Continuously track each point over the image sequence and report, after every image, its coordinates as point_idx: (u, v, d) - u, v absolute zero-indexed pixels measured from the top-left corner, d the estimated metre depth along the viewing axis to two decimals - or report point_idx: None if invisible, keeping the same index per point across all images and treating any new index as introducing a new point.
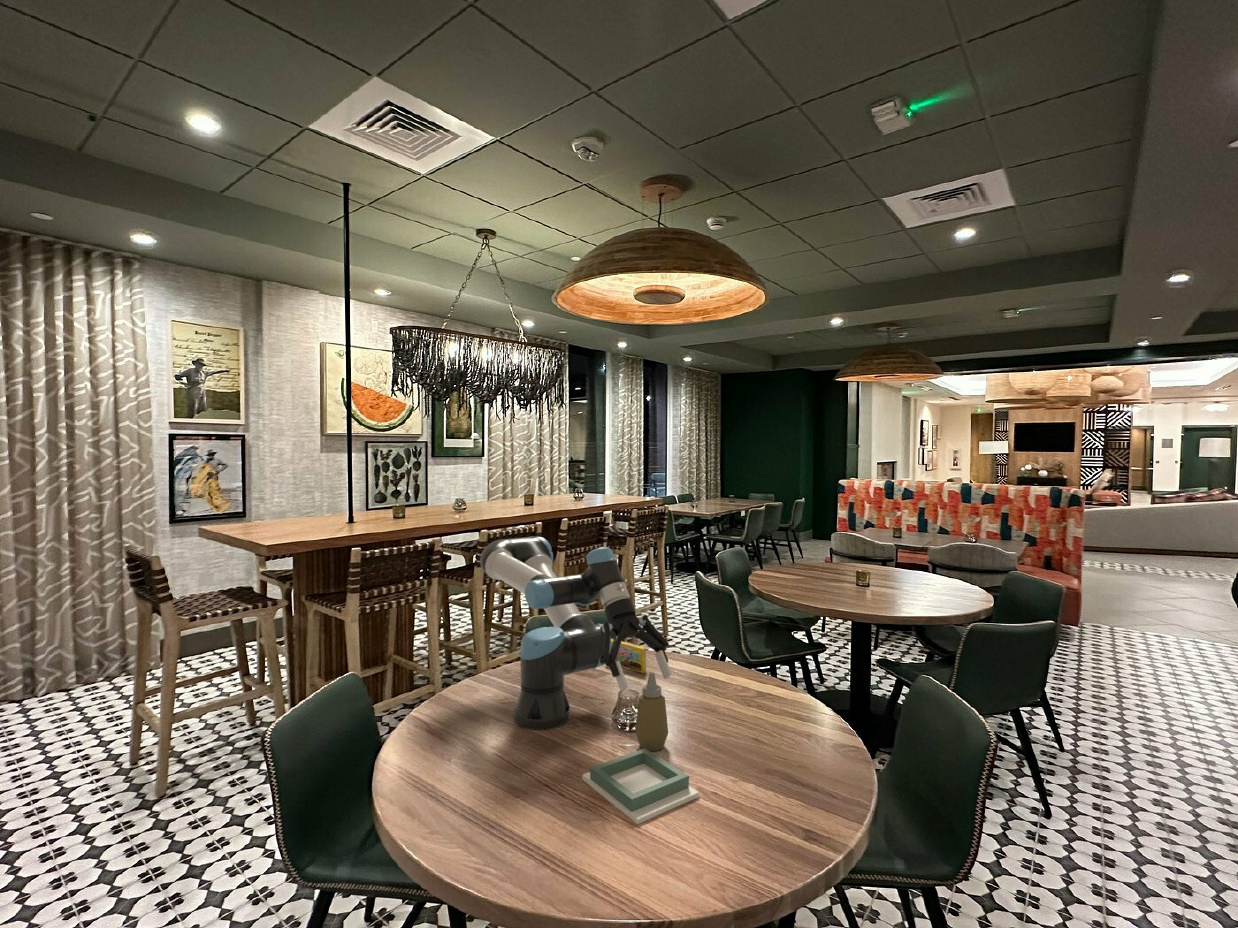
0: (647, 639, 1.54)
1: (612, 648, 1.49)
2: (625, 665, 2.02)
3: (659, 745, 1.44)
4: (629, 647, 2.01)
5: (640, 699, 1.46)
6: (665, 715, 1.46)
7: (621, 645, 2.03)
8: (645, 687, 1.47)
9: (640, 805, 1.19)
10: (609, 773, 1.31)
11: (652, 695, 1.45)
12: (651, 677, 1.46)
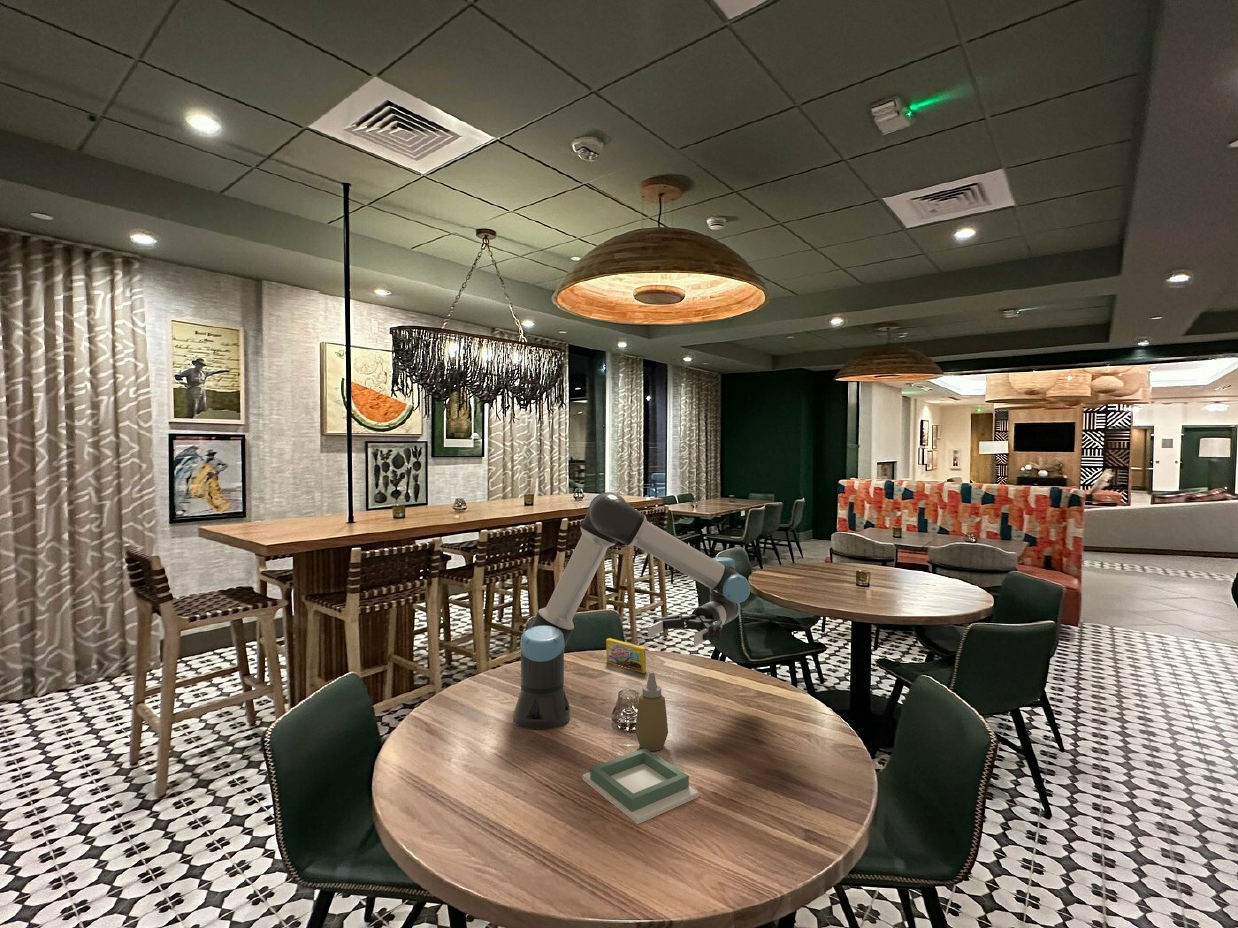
0: (676, 626, 1.66)
1: None
2: (625, 665, 2.02)
3: (659, 745, 1.44)
4: (629, 647, 2.01)
5: (640, 699, 1.46)
6: (665, 715, 1.46)
7: (621, 645, 2.03)
8: (645, 687, 1.47)
9: (640, 805, 1.19)
10: (609, 773, 1.31)
11: (652, 695, 1.45)
12: (651, 677, 1.46)
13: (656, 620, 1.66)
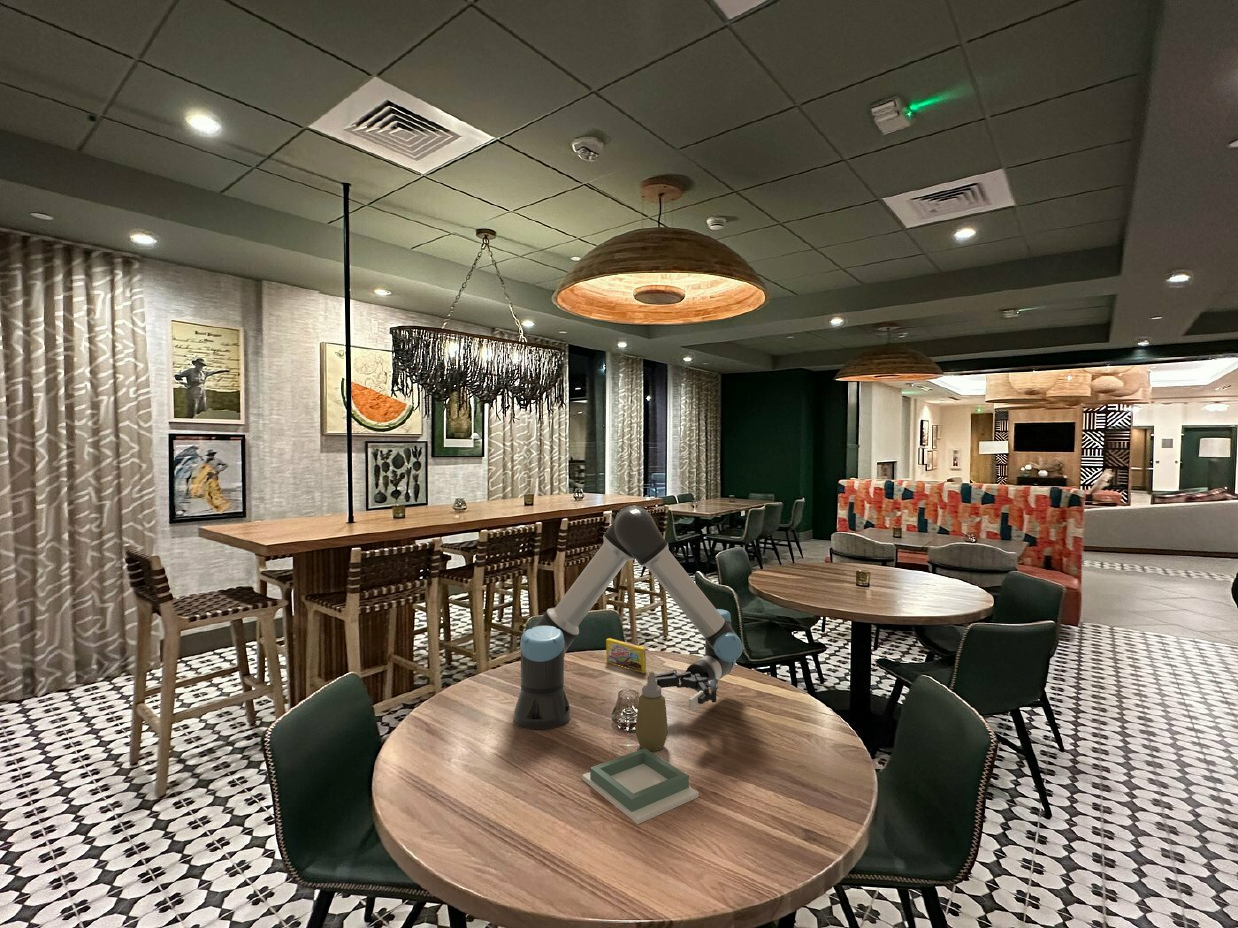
0: (670, 685, 1.63)
1: None
2: (625, 665, 2.02)
3: (659, 745, 1.44)
4: (629, 647, 2.01)
5: (640, 699, 1.46)
6: (665, 715, 1.46)
7: (621, 645, 2.03)
8: (645, 687, 1.47)
9: (640, 805, 1.19)
10: (609, 773, 1.31)
11: (652, 695, 1.45)
12: (651, 677, 1.46)
13: None
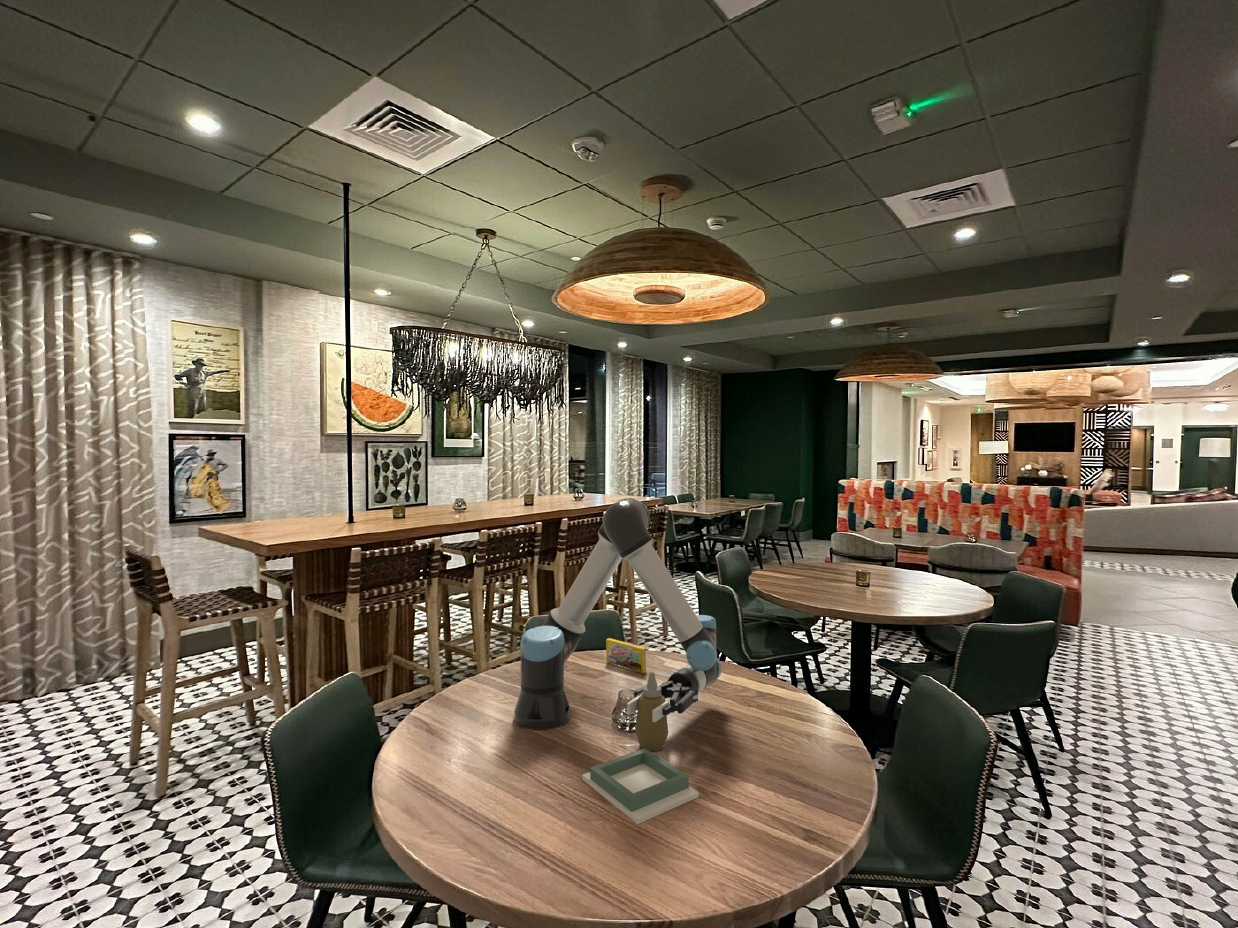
0: None
1: (676, 701, 1.49)
2: (625, 665, 2.02)
3: (659, 745, 1.44)
4: (629, 647, 2.01)
5: (640, 699, 1.46)
6: (665, 715, 1.46)
7: (621, 645, 2.03)
8: (645, 687, 1.47)
9: (640, 805, 1.19)
10: (609, 773, 1.31)
11: (652, 695, 1.45)
12: (651, 677, 1.46)
13: (637, 693, 1.52)
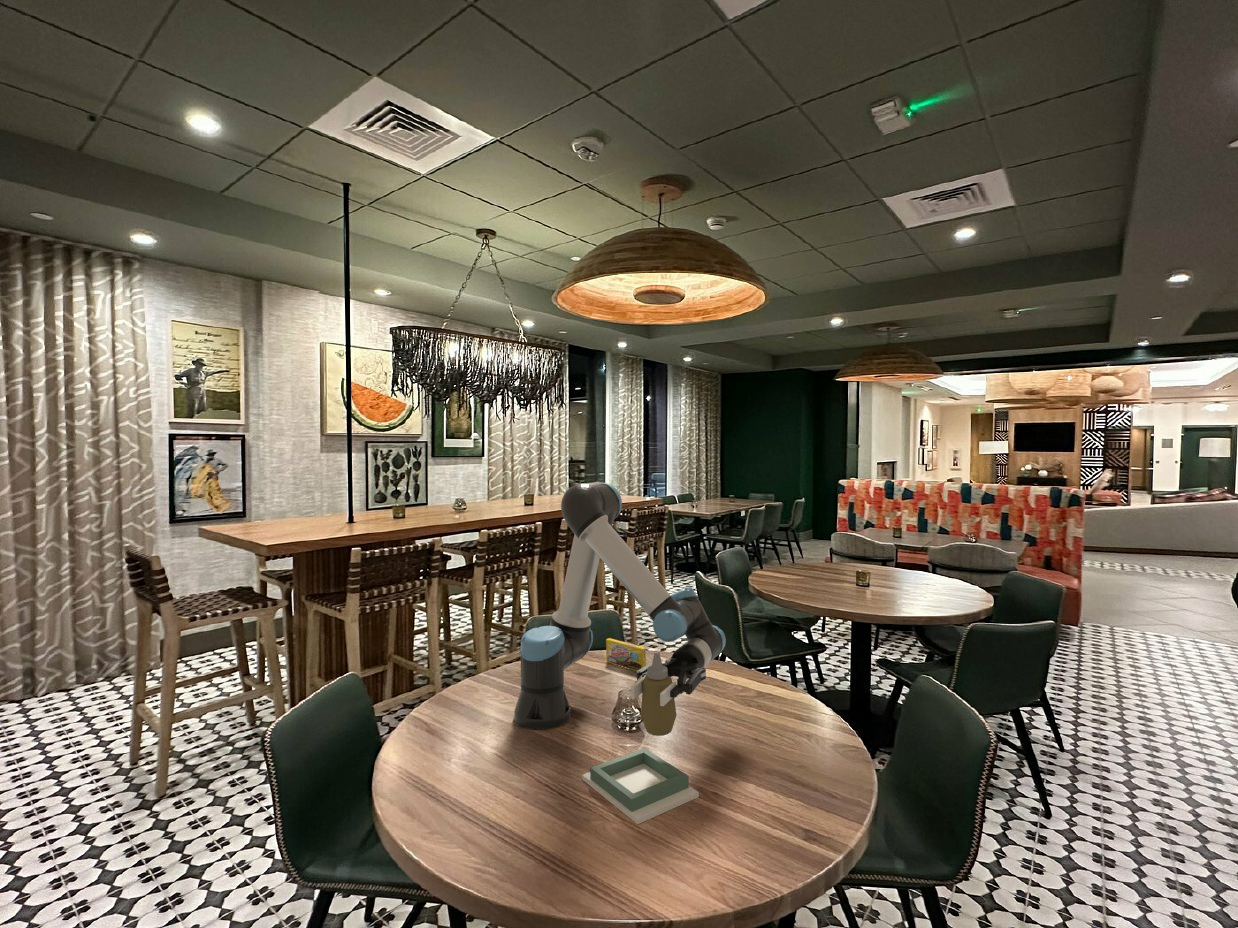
0: None
1: (684, 680, 1.38)
2: (625, 665, 2.02)
3: (668, 729, 1.33)
4: (629, 647, 2.01)
5: (645, 682, 1.34)
6: None
7: (621, 645, 2.03)
8: (650, 668, 1.35)
9: (640, 805, 1.19)
10: (609, 773, 1.31)
11: (658, 677, 1.33)
12: (656, 658, 1.34)
13: (640, 673, 1.40)
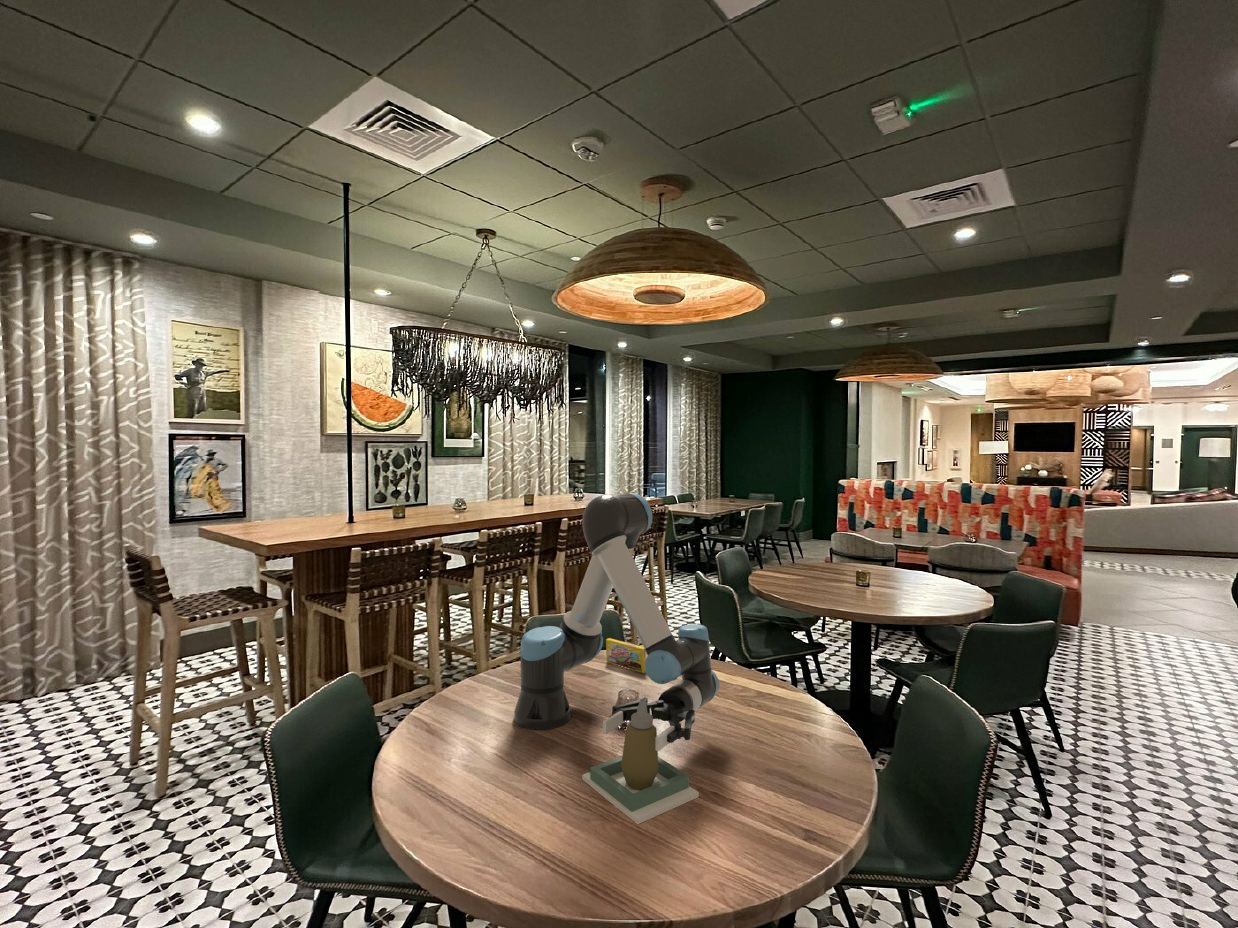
0: None
1: None
2: (625, 665, 2.02)
3: (647, 783, 1.26)
4: (629, 647, 2.01)
5: (628, 729, 1.27)
6: None
7: (621, 645, 2.03)
8: (634, 716, 1.28)
9: (640, 805, 1.19)
10: (609, 773, 1.31)
11: (642, 726, 1.26)
12: (642, 705, 1.27)
13: (615, 709, 1.37)
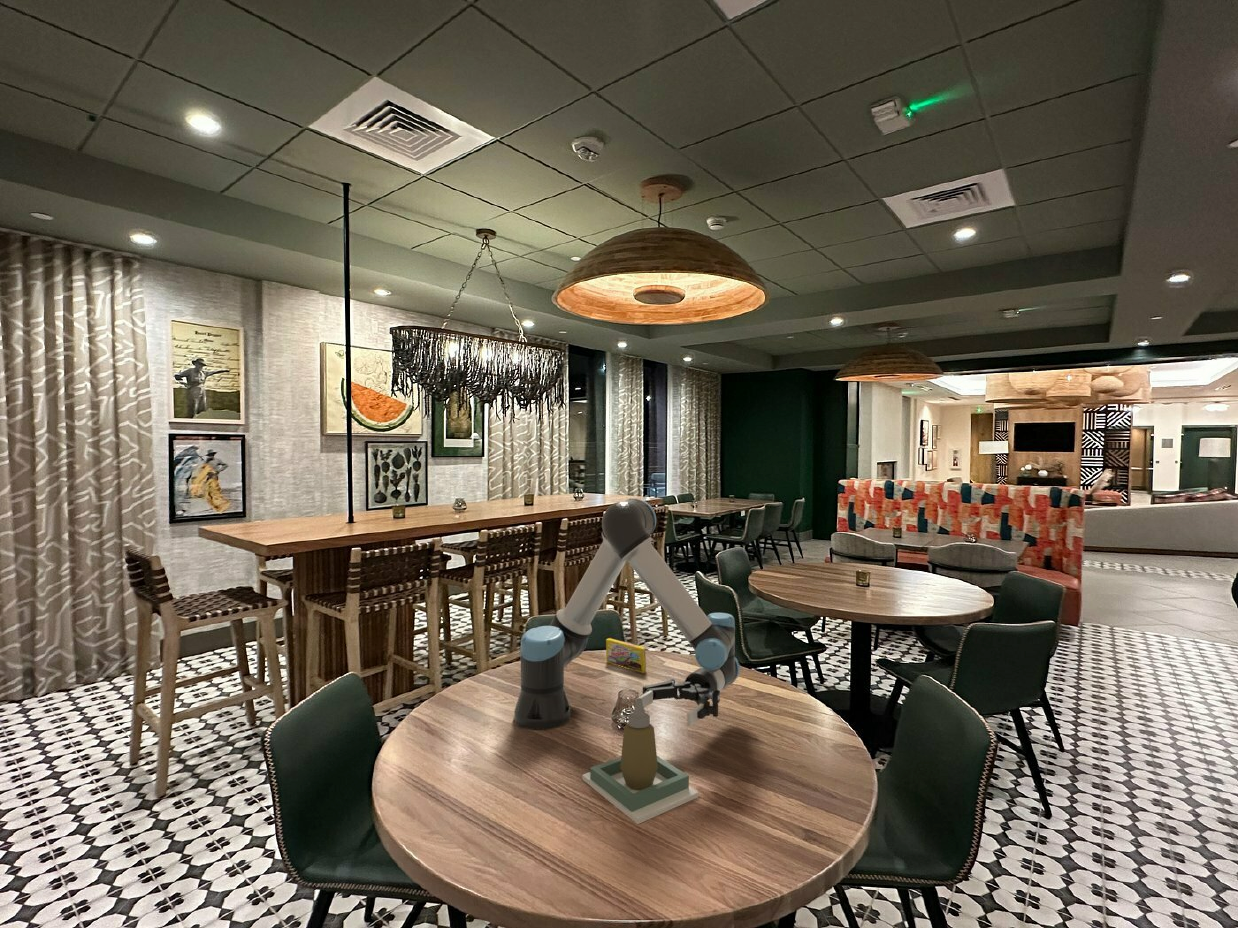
0: (667, 696, 1.47)
1: None
2: (625, 665, 2.02)
3: (647, 783, 1.26)
4: (629, 647, 2.01)
5: (625, 729, 1.27)
6: (654, 748, 1.27)
7: (621, 645, 2.03)
8: (631, 715, 1.28)
9: (640, 805, 1.19)
10: (609, 773, 1.31)
11: (639, 725, 1.26)
12: (638, 704, 1.28)
13: (646, 688, 1.48)
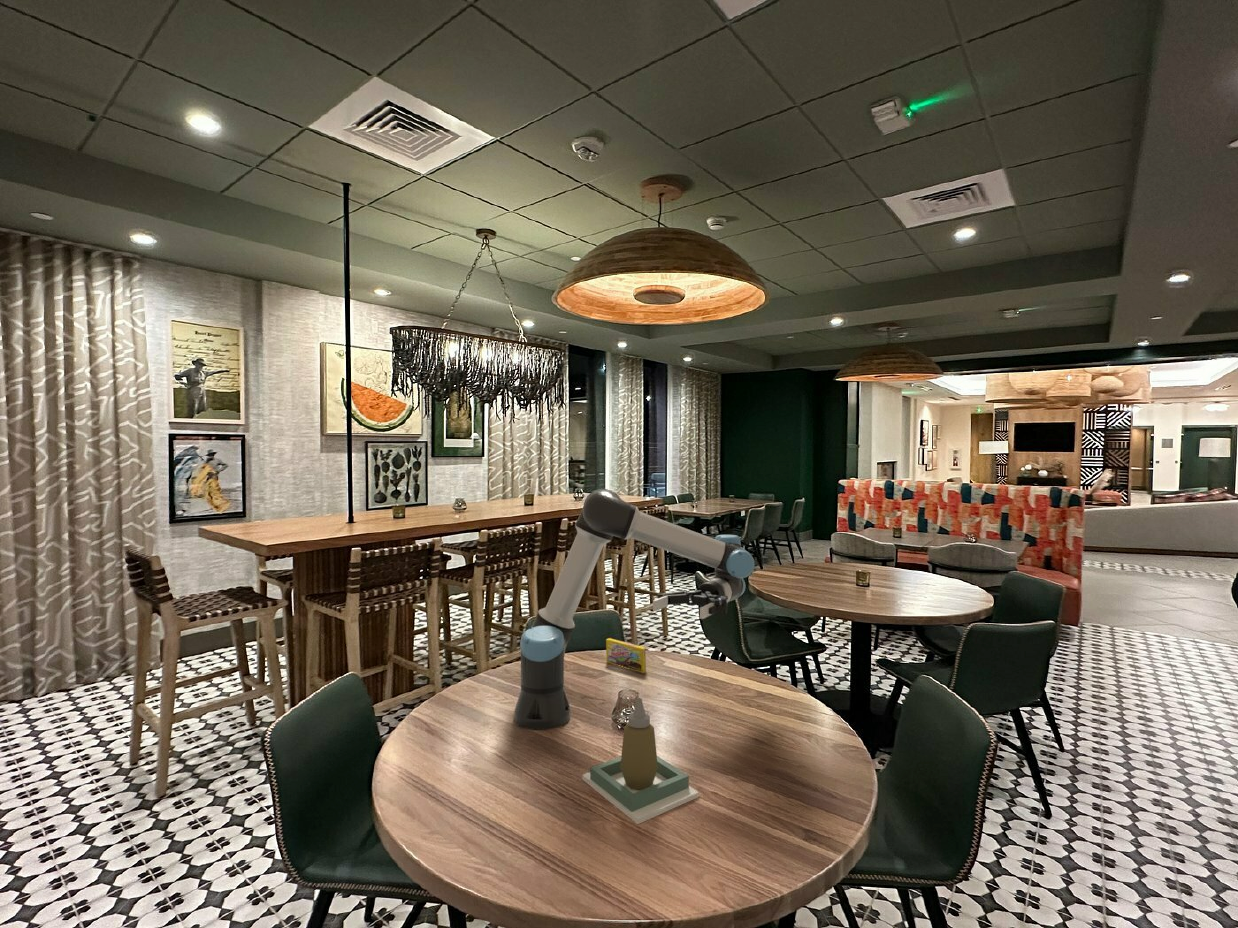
0: (681, 602, 1.64)
1: None
2: (625, 665, 2.02)
3: (647, 783, 1.26)
4: (629, 647, 2.01)
5: (626, 729, 1.27)
6: (654, 748, 1.27)
7: (621, 645, 2.03)
8: (631, 715, 1.28)
9: (640, 805, 1.19)
10: (609, 773, 1.31)
11: (639, 725, 1.26)
12: (638, 704, 1.28)
13: (661, 595, 1.64)
